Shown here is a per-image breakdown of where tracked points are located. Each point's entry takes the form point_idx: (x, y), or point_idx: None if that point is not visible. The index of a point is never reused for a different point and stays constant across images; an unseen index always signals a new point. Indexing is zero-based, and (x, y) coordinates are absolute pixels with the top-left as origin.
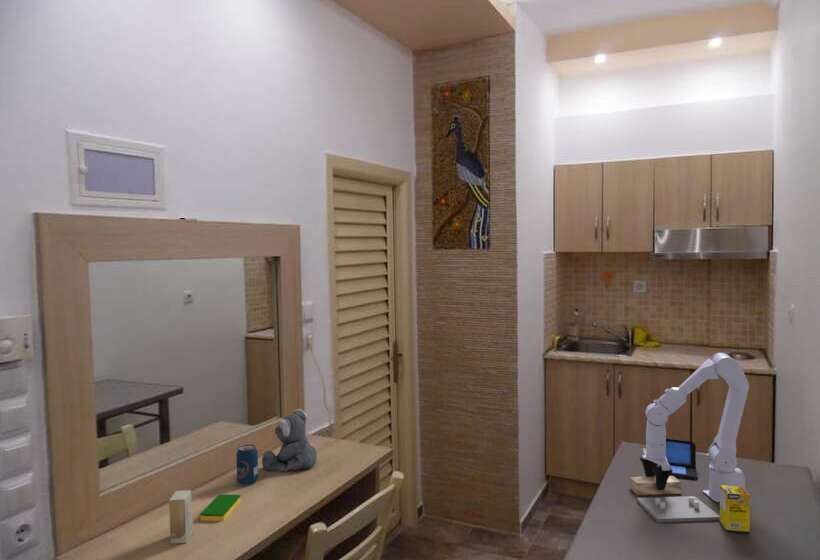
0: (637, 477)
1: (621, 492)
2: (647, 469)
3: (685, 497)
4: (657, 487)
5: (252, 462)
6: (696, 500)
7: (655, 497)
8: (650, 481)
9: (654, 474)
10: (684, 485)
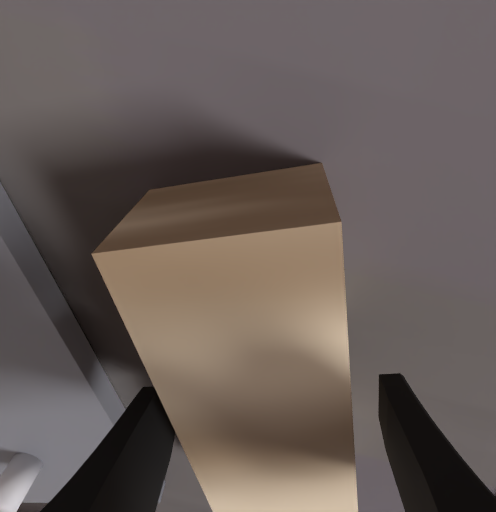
0: (326, 314)
1: (184, 8)
2: (425, 505)
3: None
4: (133, 402)
5: None
6: None
7: (50, 322)
8: (203, 401)
9: (396, 479)
10: (367, 502)
